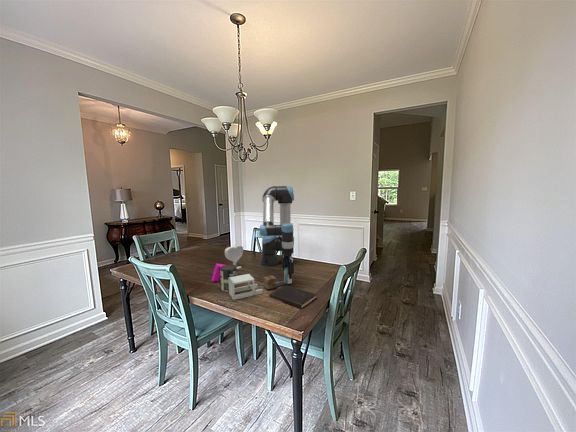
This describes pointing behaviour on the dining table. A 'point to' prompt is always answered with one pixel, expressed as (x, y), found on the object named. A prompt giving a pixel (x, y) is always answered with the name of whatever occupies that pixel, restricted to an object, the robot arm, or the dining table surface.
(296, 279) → the dining table surface
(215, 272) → the toy block
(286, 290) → the hardcover book
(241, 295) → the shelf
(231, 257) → the heart sculpture
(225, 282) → the coffee can
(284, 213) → the robot arm
